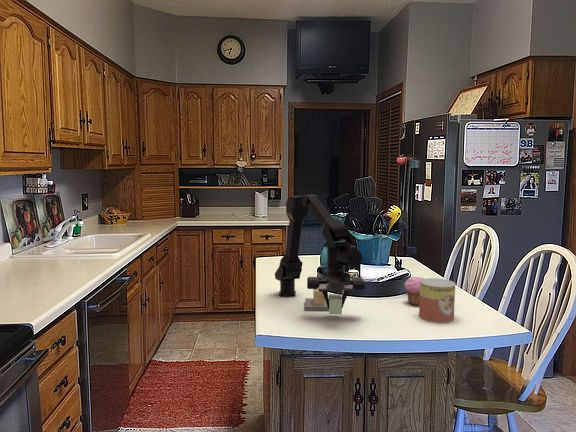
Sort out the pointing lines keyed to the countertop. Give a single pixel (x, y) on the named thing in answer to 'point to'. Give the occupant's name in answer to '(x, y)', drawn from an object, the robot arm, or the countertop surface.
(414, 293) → the cupcake
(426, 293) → the canned food
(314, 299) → the oak brick
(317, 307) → the grey baseplate
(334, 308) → the sage brick
